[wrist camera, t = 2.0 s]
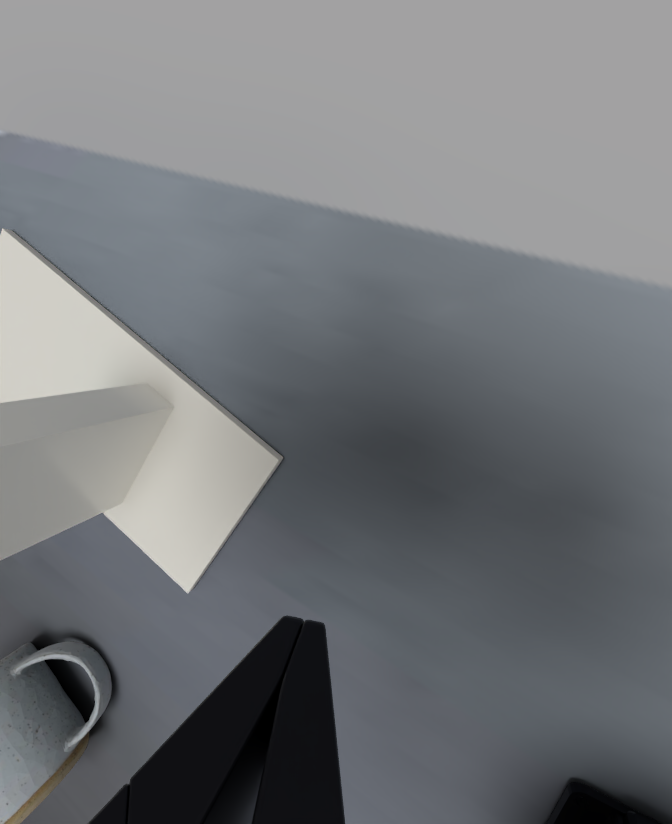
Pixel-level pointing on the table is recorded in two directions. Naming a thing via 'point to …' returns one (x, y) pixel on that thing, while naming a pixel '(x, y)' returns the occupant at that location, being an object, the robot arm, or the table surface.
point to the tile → (71, 458)
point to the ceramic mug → (42, 723)
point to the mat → (119, 366)
